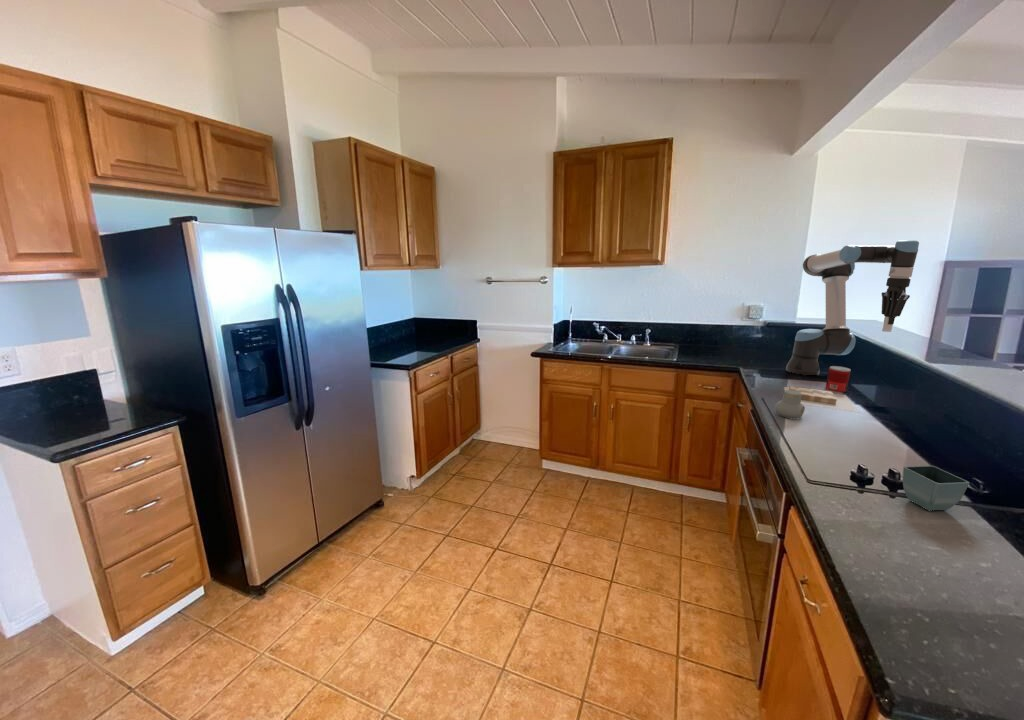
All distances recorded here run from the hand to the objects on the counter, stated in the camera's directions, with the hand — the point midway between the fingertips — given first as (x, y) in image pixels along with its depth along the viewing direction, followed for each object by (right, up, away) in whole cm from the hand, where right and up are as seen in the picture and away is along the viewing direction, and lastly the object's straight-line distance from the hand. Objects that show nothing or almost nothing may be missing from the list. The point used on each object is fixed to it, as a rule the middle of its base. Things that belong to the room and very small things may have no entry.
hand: (886, 331), depth 190 cm
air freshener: (-58, -35, -21) cm, 71 cm away
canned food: (-14, -27, +12) cm, 33 cm away
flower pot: (-61, -50, -80) cm, 113 cm away
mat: (-32, -30, -2) cm, 44 cm away
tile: (-27, -29, -5) cm, 40 cm away
